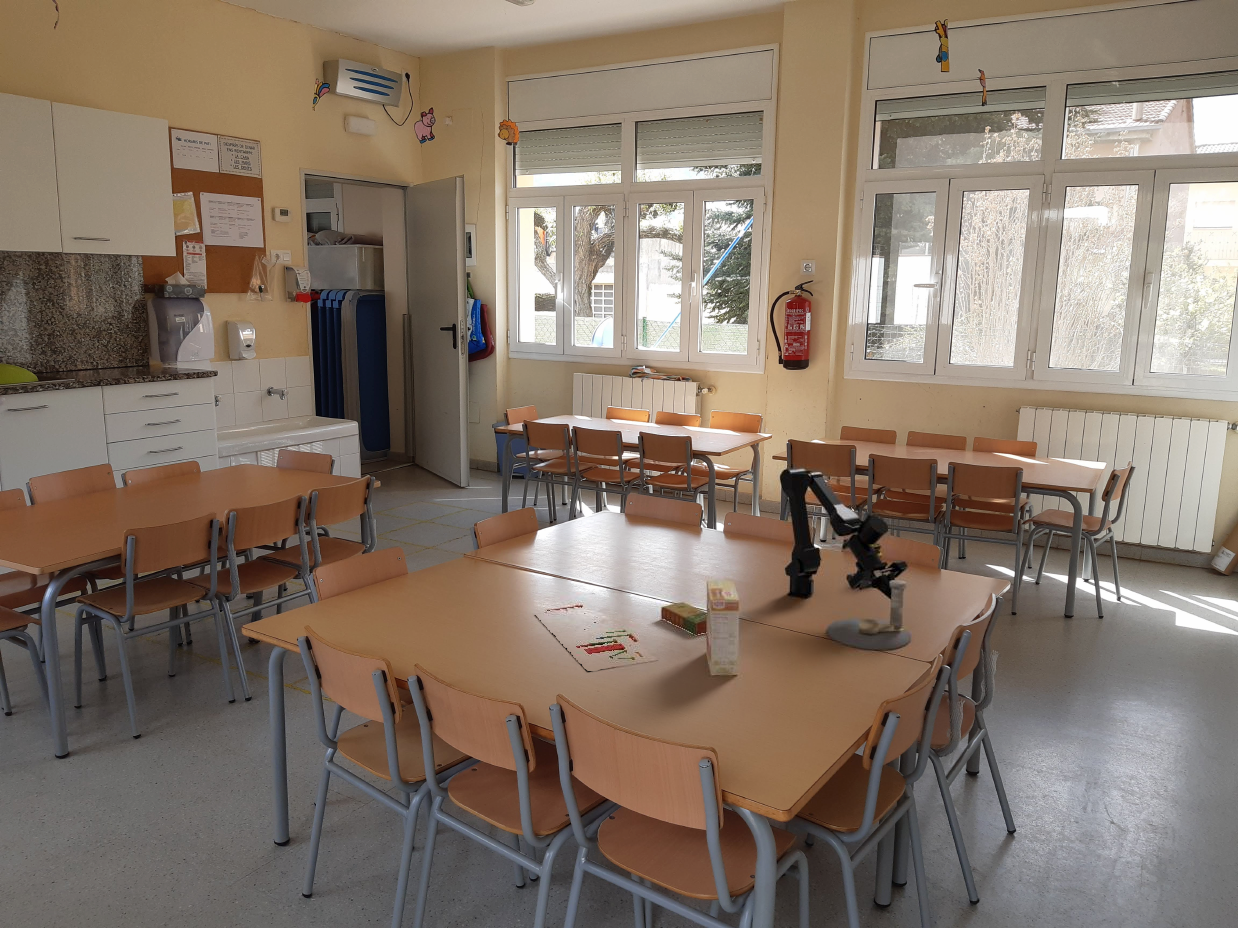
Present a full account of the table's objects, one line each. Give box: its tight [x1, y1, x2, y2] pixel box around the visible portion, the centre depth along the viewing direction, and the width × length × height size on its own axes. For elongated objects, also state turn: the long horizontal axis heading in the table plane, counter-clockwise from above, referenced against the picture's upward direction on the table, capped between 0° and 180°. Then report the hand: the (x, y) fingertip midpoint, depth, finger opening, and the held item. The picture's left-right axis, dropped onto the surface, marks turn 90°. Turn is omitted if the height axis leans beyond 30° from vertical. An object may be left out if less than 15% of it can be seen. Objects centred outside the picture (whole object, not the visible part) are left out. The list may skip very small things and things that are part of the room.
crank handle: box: [859, 579, 907, 634], centre depth 242 cm, size 13×5×13 cm, turn 101°
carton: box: [660, 601, 707, 635], centre depth 251 cm, size 8×16×4 cm, turn 34°
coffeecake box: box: [705, 579, 740, 676], centre depth 222 cm, size 15×7×20 cm, turn 178°
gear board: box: [546, 604, 643, 660], centre depth 243 cm, size 45×2×19 cm
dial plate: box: [826, 617, 912, 651], centre depth 242 cm, size 22×22×1 cm
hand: (895, 600), depth 244 cm, fingers closed, pressing on crank handle
